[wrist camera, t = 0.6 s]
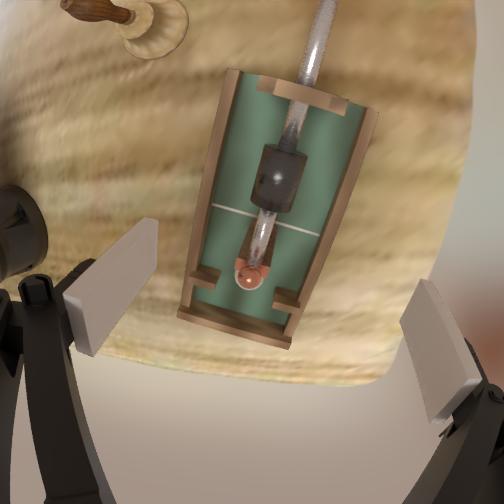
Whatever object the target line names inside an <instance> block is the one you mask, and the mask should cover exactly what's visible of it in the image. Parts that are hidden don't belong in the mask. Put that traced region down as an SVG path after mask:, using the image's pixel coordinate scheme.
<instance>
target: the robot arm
mask: <svg viewBox="0 0 504 504" xmlns="http://www.w3.org/2000/svg"><path fill="white" fill-rule="evenodd" d="M158 221H159V220H156V219H152V218H147V217H144V218H143V219H141V220H140V221H139V222H138V223H137V224H136V225H135V226H133V227H132V228H131V229H130V230H129V231H128V232H127V233H126V234H124V235H123V236H122V237H121V238H120V239H119V240H118V241H117V242H116V243H114V244H113V245H112V246H111V247H110V248H109V249H108V250H107V251H106V252H105V253H104V254H103V255H102V256H100V257H99V258H98V259H97V260H95V259H91V258H90V259H88V260H86V261H84V262H81V263H80V264H79V265H78V266H76V267H75V268H74V269H73V271H71V272H70V273H69V274H68V275H67V276H66V277H65V278H64V279H63V280H62V281H60V282H59V283H58V284H57V285H56V286H55V287H54V288H53V283H52V280H51V278H50V277H49V276H47V275H44V274H33V275H30V276H27V277H26V278H24V279H23V280H22V281H21V282H20V283H19V286H18V290H19V293H20V297H21V300H22V302H18V301H11V299H10V296H9V294H8V292H7V291H6V290H5V289H0V504H10V463H11V447H12V435H13V425H14V417H15V409H16V403H17V396H18V390H19V384H20V379H21V374H22V369H23V364H24V370H25V383H26V392H27V401H28V410H29V417H30V423H31V430H32V435H33V441H34V446H35V451H36V455H37V460H38V464H39V468H40V472H41V476H42V480H43V484H44V487H45V491H46V499H45V501H44V504H116V501H115V499H114V496H113V494H112V492H111V489H110V487H109V485H108V482H107V480H106V477H105V474H104V472H103V469H102V466H101V464H100V461H99V458H98V455H97V452H96V450H95V447H94V444H93V440H92V437H91V434H90V431H89V428H88V424H87V421H86V417H85V414H84V410H83V407H82V403H81V399H80V395H79V391H78V387H77V382H76V378H75V374H74V369H73V364H72V359H71V353H70V350H69V346H70V345H71V343H72V342H73V341H74V342H75V346H76V350H77V351H79V352H81V353H83V354H86V355H88V356H91V357H94V355H95V354H96V353H97V351H98V350H99V348H100V347H101V345H102V344H103V342H104V341H105V339H106V338H107V337H108V335H109V334H110V332H111V331H112V329H113V328H114V327H115V325H116V324H117V322H118V321H119V320H120V318H121V317H122V315H123V314H124V313H125V311H126V310H127V308H128V307H129V306H130V304H131V303H132V301H133V300H134V299H135V297H136V296H137V295H138V293H139V292H140V291H141V289H142V288H143V287H144V285H145V284H146V282H147V281H148V280H149V278H150V277H151V276H152V274H153V273H154V272H155V271H156V269H157V246H158ZM47 245H48V240H47V232H46V227H45V224H44V221H43V218H42V215H41V213H40V211H39V209H38V207H37V205H36V204H35V202H34V201H33V199H32V198H31V197H30V196H29V195H28V194H27V193H26V192H25V191H24V190H23V189H21V188H20V187H18V186H15V185H7V186H4V187H2V188H0V283H1V282H2V281H3V280H4V279H6V278H8V277H11V276H14V275H17V274H20V273H24V272H27V271H30V270H32V269H33V268H35V267H36V266H37V265H38V264H40V263H41V262H42V261H43V259H44V258H45V255H46V252H47ZM400 324H401V327H402V330H403V333H404V336H405V339H406V342H407V345H408V349H409V352H410V355H411V358H412V361H413V365H414V368H415V372H416V375H417V379H418V382H419V386H420V389H421V393H422V397H423V400H424V404H425V408H426V412H427V416H428V421H429V423H443V422H444V421H446V420H447V419H448V418H449V417H450V415H451V414H452V416H453V420H454V421H453V422H452V423H451V424H450V425H449V426H448V427H447V428H446V429H445V430H444V431H443V432H442V433H441V434H440V435H439V437H441V436H442V435H444V436H443V438H442V440H441V442H440V444H439V446H438V447H437V449H436V451H435V453H434V455H433V456H432V458H431V460H430V462H429V463H428V465H427V467H426V468H425V470H424V471H423V473H422V475H421V476H420V478H419V479H418V481H417V482H416V484H415V485H414V487H413V489H412V490H411V491H410V493H409V494H408V496H407V497H406V499H405V500H404V502H403V503H402V504H504V393H503V391H502V390H501V389H500V388H499V387H498V386H496V385H494V384H489V382H488V380H487V377H486V375H485V373H484V371H483V368H482V366H481V364H480V362H479V360H478V358H477V356H476V354H475V352H474V349H473V347H472V345H471V344H470V343H469V342H468V341H467V340H466V339H465V338H463V336H462V334H461V332H460V330H459V328H458V326H457V324H456V323H455V321H454V319H453V317H452V315H451V313H450V311H449V309H448V308H447V306H446V304H445V302H444V300H443V299H442V297H441V295H440V293H439V291H438V290H437V288H436V286H435V285H434V283H433V281H429V280H425V279H420V281H419V283H418V285H417V287H416V289H415V291H414V293H413V296H412V298H411V300H410V302H409V303H408V305H407V307H406V309H405V311H404V313H403V315H402V317H401V319H400Z"/></svg>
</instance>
